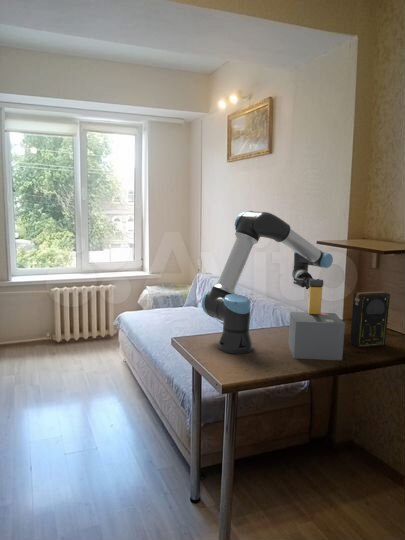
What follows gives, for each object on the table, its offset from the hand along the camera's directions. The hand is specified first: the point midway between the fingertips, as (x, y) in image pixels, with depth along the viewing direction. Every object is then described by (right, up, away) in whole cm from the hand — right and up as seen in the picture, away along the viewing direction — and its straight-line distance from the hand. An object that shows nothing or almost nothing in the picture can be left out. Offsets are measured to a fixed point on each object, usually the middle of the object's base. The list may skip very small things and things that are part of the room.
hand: (313, 288), depth 193 cm
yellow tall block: (-1, -11, -5) cm, 12 cm away
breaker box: (-2, -28, -8) cm, 29 cm away
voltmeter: (+26, -27, +4) cm, 38 cm away
